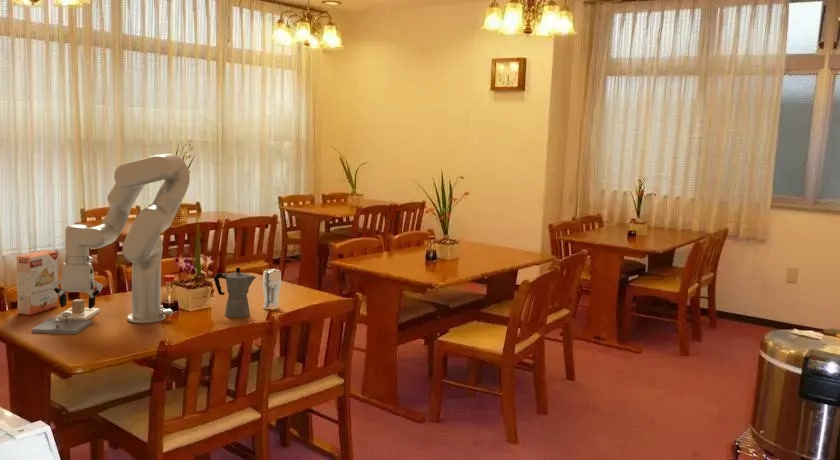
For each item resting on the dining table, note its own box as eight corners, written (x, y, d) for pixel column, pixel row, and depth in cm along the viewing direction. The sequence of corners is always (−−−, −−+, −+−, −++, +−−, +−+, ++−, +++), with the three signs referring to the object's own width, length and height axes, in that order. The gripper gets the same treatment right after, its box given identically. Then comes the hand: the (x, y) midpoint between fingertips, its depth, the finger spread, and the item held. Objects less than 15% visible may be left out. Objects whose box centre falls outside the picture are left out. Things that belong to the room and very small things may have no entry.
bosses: (72, 320, 242) (71, 312, 242) (59, 328, 233) (59, 320, 232) (64, 320, 242) (64, 312, 242) (51, 328, 232) (51, 320, 232)
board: (92, 323, 244) (92, 319, 244) (76, 334, 232) (76, 330, 231) (50, 321, 243) (50, 318, 243) (32, 332, 231) (32, 329, 230)
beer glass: (258, 308, 275) (259, 271, 272) (268, 305, 281) (269, 268, 279) (273, 311, 272) (274, 273, 270) (283, 307, 278) (284, 270, 276)
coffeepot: (257, 312, 270) (258, 265, 267) (252, 319, 260) (253, 271, 258) (216, 310, 269) (217, 264, 267) (210, 317, 260) (210, 269, 257)
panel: (99, 311, 259) (99, 296, 258) (85, 321, 246) (85, 305, 245) (71, 310, 258) (71, 295, 257) (55, 320, 245) (55, 304, 245)
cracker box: (31, 316, 249) (30, 257, 246) (16, 314, 250) (15, 256, 247) (59, 306, 262) (58, 251, 259) (45, 304, 263) (43, 249, 260)
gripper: (106, 259, 254) (106, 305, 256) (56, 256, 252) (56, 303, 255) (98, 263, 246) (98, 311, 249) (47, 260, 245) (47, 308, 247)
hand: (77, 307), depth 252 cm, fingers open, 9 cm apart
